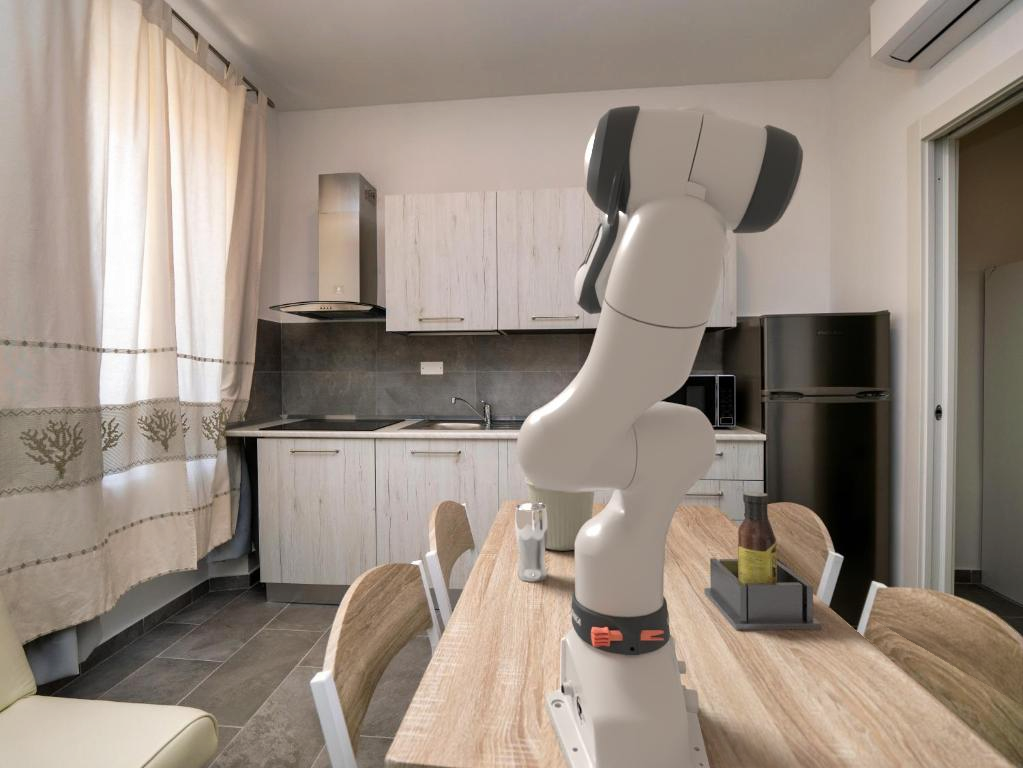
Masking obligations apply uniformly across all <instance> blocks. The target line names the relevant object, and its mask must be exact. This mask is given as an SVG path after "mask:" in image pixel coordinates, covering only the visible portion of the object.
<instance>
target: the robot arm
mask: <svg viewBox="0 0 1023 768" xmlns="http://www.w3.org/2000/svg"><path fill="white" fill-rule="evenodd" d="M803 158H804V151H803V148H802V145H801V144H800V141H799V140H798V138H797V136H796V135H795V134H793V133H792V132H789V131H787V130H785V129H782V128H779V127H776V126H775V125H774V126H773V125H770V124H766V125H765V126H764V127H763V126H759V125H756V124H752V123H749V122H745V121H741V120H738V119H734V118H728V117H724V116H721V115H719V113H717V112H716V111H714V110H712V109H710V108H708V107H704V106H700V105H691V106H690V105H689V106H688V105H687V106H683V107H679V108H677V109H673V108H672V109H671V108H648V109H647V108H646V109H645V108H643V109H641V108H640V105H627V106H621V107H614V108H610V109H608V110H607V112H606V113H605V114H604V115H602V117H600V119H599V120H598V123H597V126H596V128H594V130H593V133H592V134H591V136H590V138H589V140H588V143H587V145H586V149H585V152H584V162H583V172H584V179H585V183H586V192H587V194H588V196H589V197H590V200H591V201H592V203H593V204H594V206H595V207H596V208H598V209H599V210H600V211H601V212H603V213H604V214H603V215H602V217H601V219H600V222H599V223H598V226H597V228H596V230H595V233H594V236H593V237H592V241H591V243H590V245H589V248H588V251H587V253H586V255H585V258H584V260H583V262H582V263H581V264H580V266H579V267H578V270H577V272H576V275H575V278H574V284H573V285H574V287H573V288H574V291H573V292H574V297H575V300H576V303H577V305H578V307H580V308H581V309H582V310H584V312H586V313H587V314H589V315H595V314H600V315H599V320H598V323H597V327H596V331H595V334H594V337H593V341H592V344H591V347H590V351H589V353H588V356H587V358H586V359H585V362H584V364H583V366H582V367H581V368H580V370H579V372H578V373H577V375H576V376H575V377H574V378H573V379H572V381H570V383H569V384H568V386H566V387H565V388H564V390H563V391H562V392H560V393H559V394H558V395H557V396H556V397H554V398H553V399H551V400H550V401H549V402H548V403H546V404H544V405H543V406H541V407H540V408H537V409H536V410H534V411H532V412H531V413H530V414H529V415H528V416H527V417H526V419H525V420H524V421H523V423H522V425H521V427H520V429H519V431H518V435H517V441H516V455H517V462H518V464H519V466H520V469H521V470H522V473H523V474H524V476H525V478H527V479H528V480H529V481H530V482H531V483H532V484H533V485H534V486H535V487H537V488H541V489H548V490H554V491H562V492H569V493H579V492H594V493H595V492H604V491H605V492H606V491H613V492H612V494H611V495H612V496H611V498H610V500H609V502H608V503H607V504H606V505H605V507H604V508H603V509H602V510H601V511H600V512H599V513H597V514H595V515H594V516H592V518H591V519H589V520H588V521H587V522H586V523H585V524H584V525H583V526H582V527H581V529H580V530H579V532H578V534H577V537H576V540H575V549H574V590H573V591H572V594H571V595H572V597H571V603H570V612H571V624H572V627H570V629H569V630H568V632H567V633H566V634H565V635H563V637H562V638H561V640H560V652H559V653H560V657H559V660H560V661H559V688H558V689H555V690H554V691H551V692H550V693H548V695H547V696H546V701H545V708H546V710H547V713H548V715H549V718H550V721H551V724H552V726H553V728H554V731H555V734H556V737H557V738H558V742H559V744H560V746H561V749H562V751H563V754H564V757H565V759H566V762H567V765H568V768H711V767H710V763H709V758H708V754H707V750H706V746H705V741H704V738H703V734H702V729H701V724H700V721H699V717H698V713H700V712H699V711H700V702H699V701H700V700H699V695H698V691H697V690H695V689H693V688H686V685H684V684H683V683H682V679H681V675H686V674H687V665H686V662H685V661H683V660H678V658H677V653H676V638H675V637H673V636H672V634H671V630H670V614H669V610H668V603H667V599H666V598H665V595H664V591H665V590H664V587H665V586H664V580H665V577H664V576H665V575H664V574H665V556H666V555H665V554H666V545H667V544H666V543H667V537H668V533H669V530H670V527H671V525H672V521H673V519H674V517H675V514H676V512H677V510H678V508H679V506H680V505H681V503H682V501H683V499H684V497H685V496H686V495H687V493H688V492H689V491H690V490H691V489H692V488H693V486H694V485H695V484H696V483H697V482H699V481H700V480H701V479H702V478H703V477H705V476H706V475H707V474H708V472H709V471H710V470H711V468H712V466H713V464H714V462H715V459H716V455H717V446H718V445H717V438H716V434H715V430H714V427H713V425H712V423H711V422H710V419H709V418H708V417H707V416H706V415H705V414H704V412H703V411H701V409H698V408H697V407H694V406H689V405H684V404H679V403H674V402H667V401H663V400H665V399H667V398H668V397H669V398H670V397H671V396H672V395H674V394H675V393H676V392H677V391H679V390H680V389H681V388H682V387H683V386H684V385H685V383H686V381H688V379H689V377H690V375H691V371H692V369H693V366H694V363H695V360H696V357H697V354H698V351H699V348H700V346H701V343H702V342H701V341H702V339H703V337H704V334H705V331H706V327H707V324H708V322H709V319H710V316H711V313H712V309H713V307H714V304H715V300H716V297H717V296H716V295H717V293H718V288H719V284H720V279H721V275H722V270H723V265H724V264H723V263H724V258H725V257H724V256H725V252H726V250H725V249H726V242H727V241H726V240H727V231H732V233H733V234H756V233H764V232H766V231H767V230H769V229H771V228H772V227H773V226H774V225H776V224H777V223H778V222H779V221H780V220H781V219H782V218H783V216H784V214H785V213H786V211H787V210H788V208H789V206H791V204H792V203H793V201H794V199H795V196H796V195H797V192H798V190H799V187H800V184H801V179H802V173H803V161H804V160H803Z"/></svg>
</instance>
